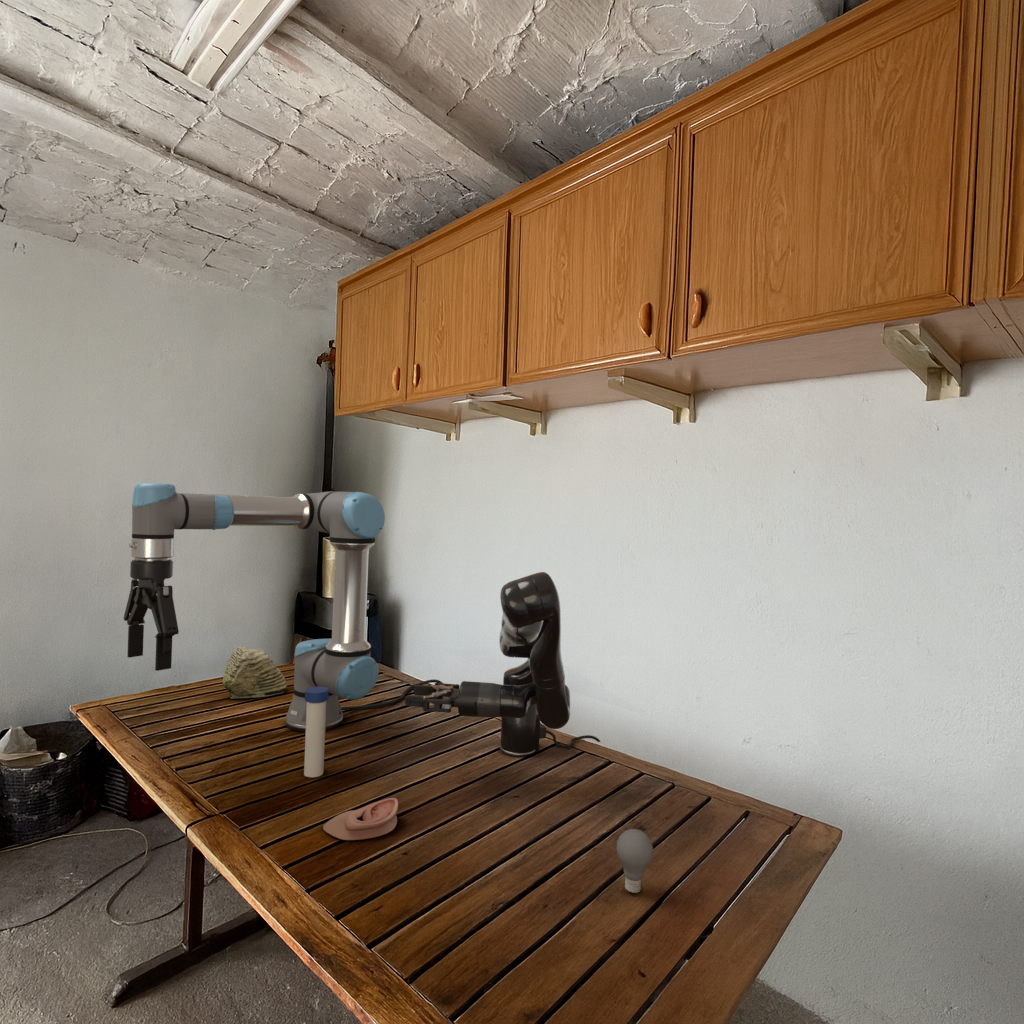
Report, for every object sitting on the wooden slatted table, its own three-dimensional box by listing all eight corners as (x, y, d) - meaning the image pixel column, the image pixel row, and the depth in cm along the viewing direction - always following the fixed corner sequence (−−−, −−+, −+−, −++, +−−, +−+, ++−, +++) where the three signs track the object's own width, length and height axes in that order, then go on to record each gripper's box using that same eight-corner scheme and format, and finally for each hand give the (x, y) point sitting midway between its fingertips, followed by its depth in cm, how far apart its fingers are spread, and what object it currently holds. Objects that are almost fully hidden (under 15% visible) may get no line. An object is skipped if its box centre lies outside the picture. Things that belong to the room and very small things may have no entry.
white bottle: (327, 772, 146) (330, 690, 145) (314, 779, 142) (317, 695, 142) (313, 767, 148) (316, 687, 147) (299, 774, 144) (303, 692, 143)
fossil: (218, 695, 195) (220, 647, 195) (278, 685, 208) (279, 640, 207) (228, 703, 189) (230, 653, 188) (289, 692, 201) (290, 645, 201)
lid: (333, 698, 146) (333, 688, 146) (317, 704, 141) (317, 694, 141) (316, 694, 148) (316, 685, 148) (299, 700, 143) (300, 690, 143)
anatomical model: (315, 814, 118) (343, 787, 129) (314, 835, 118) (343, 807, 129) (382, 825, 115) (405, 796, 127) (381, 846, 116) (404, 816, 127)
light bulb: (610, 879, 108) (613, 822, 108) (644, 879, 109) (647, 822, 109) (619, 902, 102) (622, 840, 102) (655, 901, 103) (658, 840, 103)
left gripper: (108, 554, 134) (104, 654, 134) (159, 565, 118) (155, 678, 119) (146, 552, 140) (143, 648, 140) (199, 563, 124) (195, 671, 124)
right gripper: (484, 674, 149) (416, 670, 150) (478, 691, 135) (403, 686, 136) (483, 706, 149) (415, 702, 150) (476, 726, 135) (401, 721, 136)
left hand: (148, 662), depth 129 cm, fingers open, 13 cm apart
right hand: (409, 695), depth 143 cm, fingers open, 8 cm apart
